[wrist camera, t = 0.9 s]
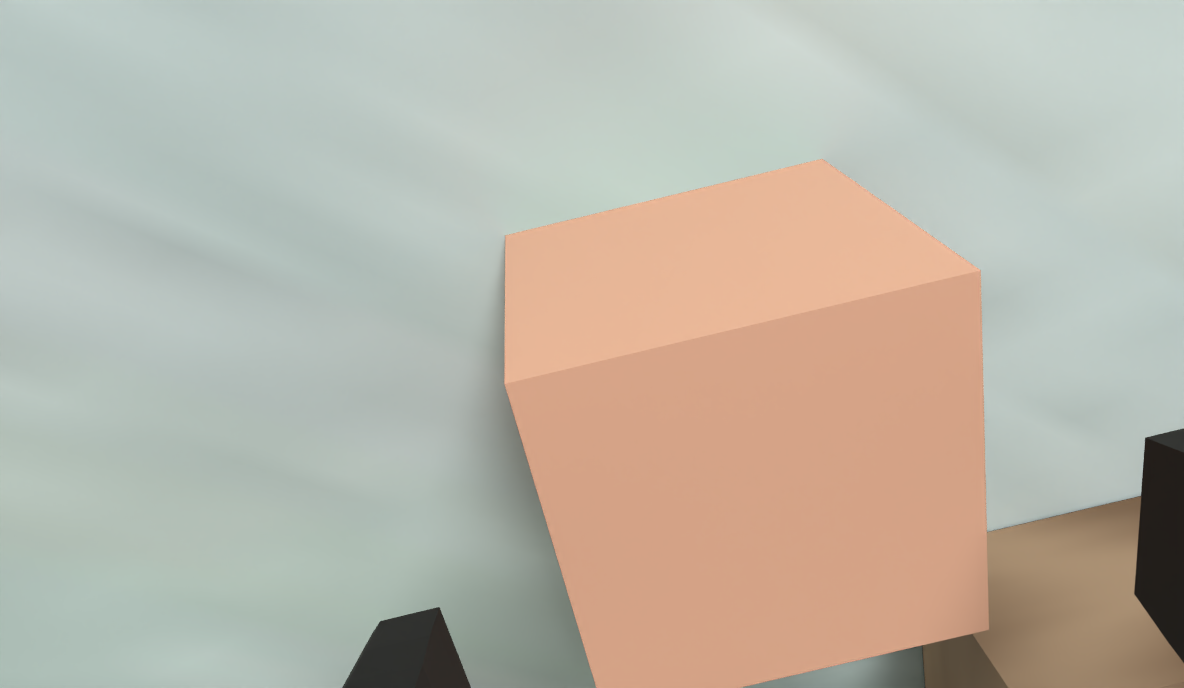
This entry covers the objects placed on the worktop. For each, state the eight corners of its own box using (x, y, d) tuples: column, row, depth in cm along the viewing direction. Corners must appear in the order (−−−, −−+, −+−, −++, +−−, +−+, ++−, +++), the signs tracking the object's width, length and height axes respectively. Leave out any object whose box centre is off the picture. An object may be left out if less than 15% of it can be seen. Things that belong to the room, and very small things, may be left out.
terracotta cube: (820, 157, 13) (979, 270, 9) (849, 428, 16) (989, 630, 11) (505, 233, 13) (504, 383, 9) (577, 492, 16) (606, 719, 11)
